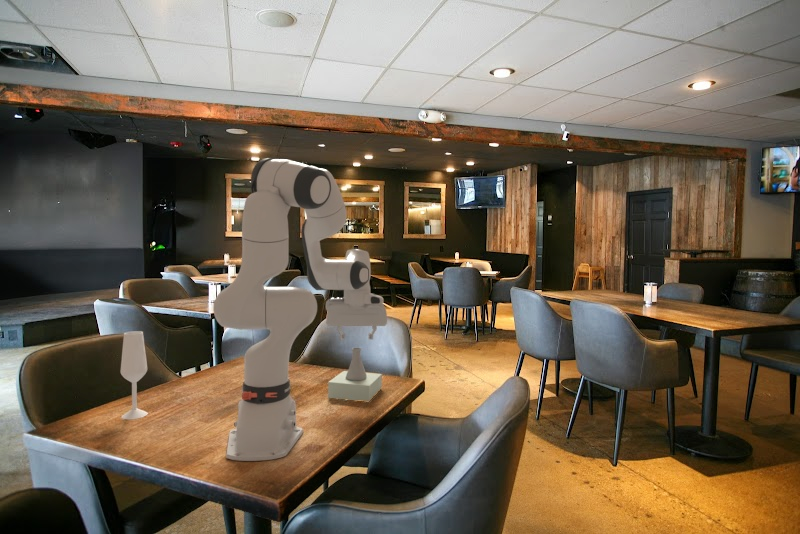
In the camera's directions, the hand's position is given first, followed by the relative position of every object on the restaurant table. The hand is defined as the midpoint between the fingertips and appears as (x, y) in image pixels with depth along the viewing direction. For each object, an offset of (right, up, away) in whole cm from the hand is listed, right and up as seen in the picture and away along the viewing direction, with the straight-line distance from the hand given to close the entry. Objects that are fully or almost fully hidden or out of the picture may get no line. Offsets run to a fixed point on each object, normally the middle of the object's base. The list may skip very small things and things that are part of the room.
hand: (356, 339), depth 156 cm
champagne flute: (-62, -19, -21) cm, 68 cm away
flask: (0, -13, +1) cm, 13 cm away
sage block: (0, -19, +1) cm, 19 cm away
